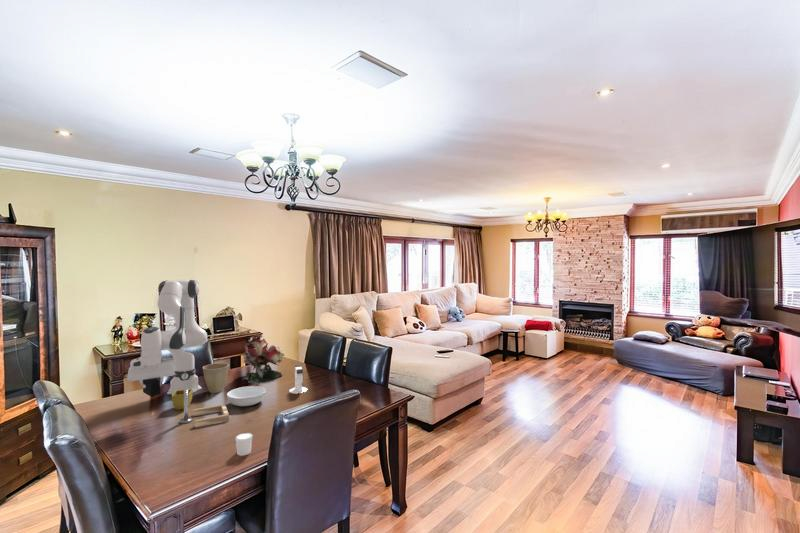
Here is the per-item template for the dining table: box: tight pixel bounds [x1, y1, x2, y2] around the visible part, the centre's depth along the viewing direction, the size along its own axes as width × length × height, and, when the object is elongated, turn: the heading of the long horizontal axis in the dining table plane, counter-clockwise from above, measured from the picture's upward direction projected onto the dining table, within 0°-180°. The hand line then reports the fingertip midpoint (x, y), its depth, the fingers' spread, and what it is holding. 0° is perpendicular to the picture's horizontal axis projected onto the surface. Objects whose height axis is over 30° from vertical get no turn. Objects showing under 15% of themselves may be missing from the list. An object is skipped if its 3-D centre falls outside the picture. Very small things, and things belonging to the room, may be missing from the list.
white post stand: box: [289, 364, 309, 395], centre depth 242 cm, size 12×11×15 cm
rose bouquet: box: [241, 334, 285, 385], centre depth 271 cm, size 26×29×30 cm
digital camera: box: [142, 378, 161, 397], centre depth 194 cm, size 10×5×7 cm, turn 52°
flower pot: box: [171, 389, 194, 411], centre depth 213 cm, size 9×9×9 cm
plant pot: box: [202, 362, 230, 394], centre depth 241 cm, size 15×15×16 cm
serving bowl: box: [226, 385, 267, 407], centre depth 221 cm, size 21×21×7 cm
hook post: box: [178, 390, 194, 425], centre depth 194 cm, size 10×6×16 cm, turn 31°
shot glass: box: [235, 432, 254, 456], centre depth 165 cm, size 7×7×7 cm
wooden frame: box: [192, 403, 230, 428], centre depth 200 cm, size 18×16×3 cm
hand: (151, 386), depth 194 cm, fingers closed on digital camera, 5 cm apart
